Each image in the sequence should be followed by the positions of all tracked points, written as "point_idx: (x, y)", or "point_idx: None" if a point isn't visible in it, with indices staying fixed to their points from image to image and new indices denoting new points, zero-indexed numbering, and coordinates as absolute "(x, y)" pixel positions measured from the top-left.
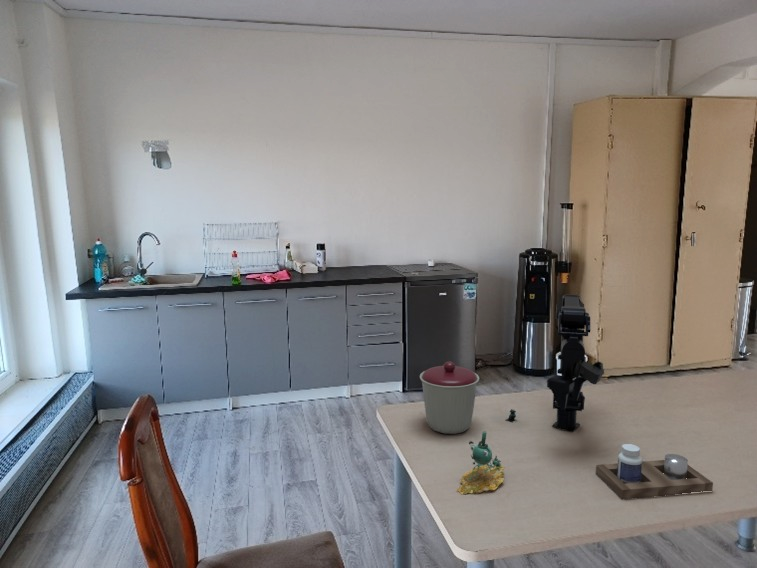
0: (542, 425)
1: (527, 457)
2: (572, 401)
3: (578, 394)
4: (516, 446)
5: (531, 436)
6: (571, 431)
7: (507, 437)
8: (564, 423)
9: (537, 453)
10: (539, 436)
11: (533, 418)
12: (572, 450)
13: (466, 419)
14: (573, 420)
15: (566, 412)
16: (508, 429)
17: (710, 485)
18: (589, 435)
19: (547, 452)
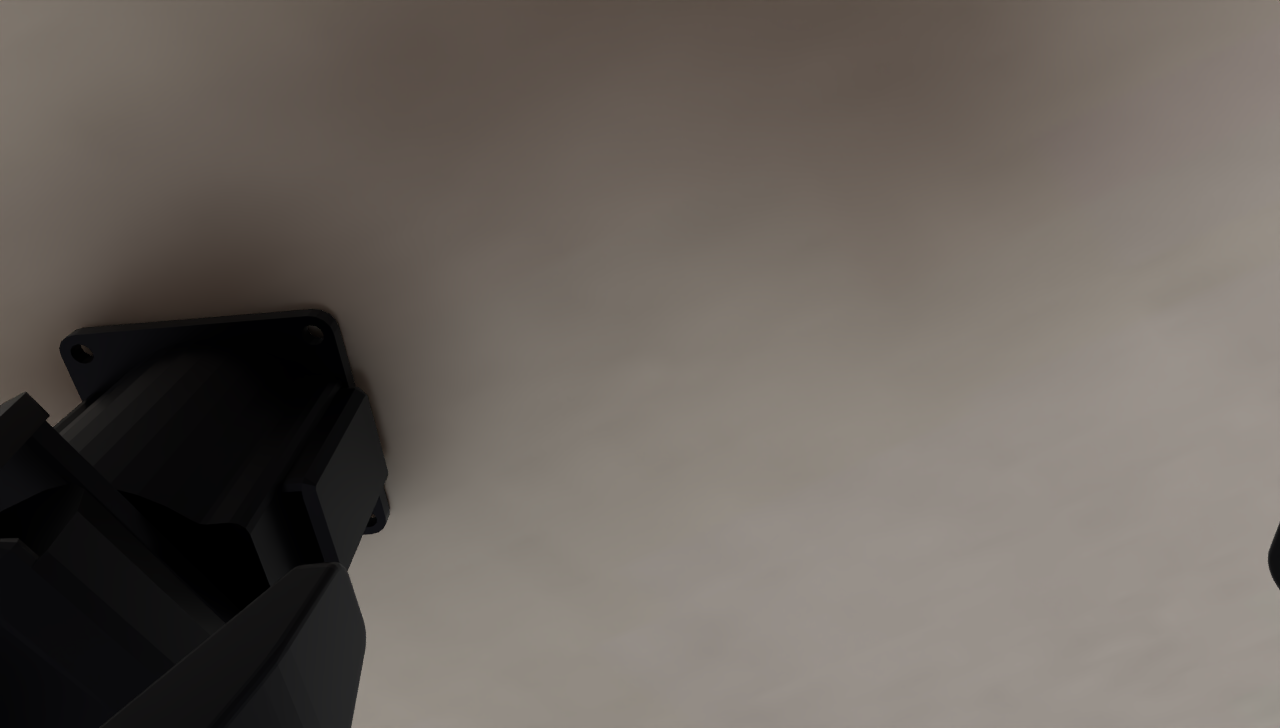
0: (432, 590)
1: (1244, 366)
2: (153, 628)
3: (226, 716)
4: (1050, 538)
5: (751, 547)
6: (334, 323)
7: (911, 661)
8: (348, 444)
9: (1102, 339)
10: (697, 500)
11: (358, 702)
12: (800, 83)
13: None
14: (199, 399)
15: (263, 536)
16: (748, 723)
17: None
18: (215, 115)
19: (1023, 277)
